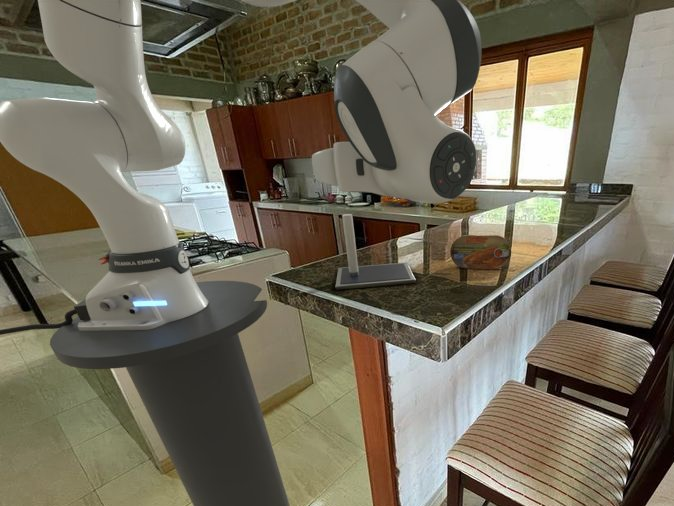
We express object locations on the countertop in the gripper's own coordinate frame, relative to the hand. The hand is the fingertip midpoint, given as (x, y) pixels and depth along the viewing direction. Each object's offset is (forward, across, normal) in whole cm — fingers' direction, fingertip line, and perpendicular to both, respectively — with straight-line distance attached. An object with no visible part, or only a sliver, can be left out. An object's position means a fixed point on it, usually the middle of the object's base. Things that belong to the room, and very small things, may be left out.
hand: (360, 164), depth 61 cm
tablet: (+10, -5, +25) cm, 28 cm away
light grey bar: (+12, 0, +24) cm, 27 cm away
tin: (+2, -30, +25) cm, 40 cm away
